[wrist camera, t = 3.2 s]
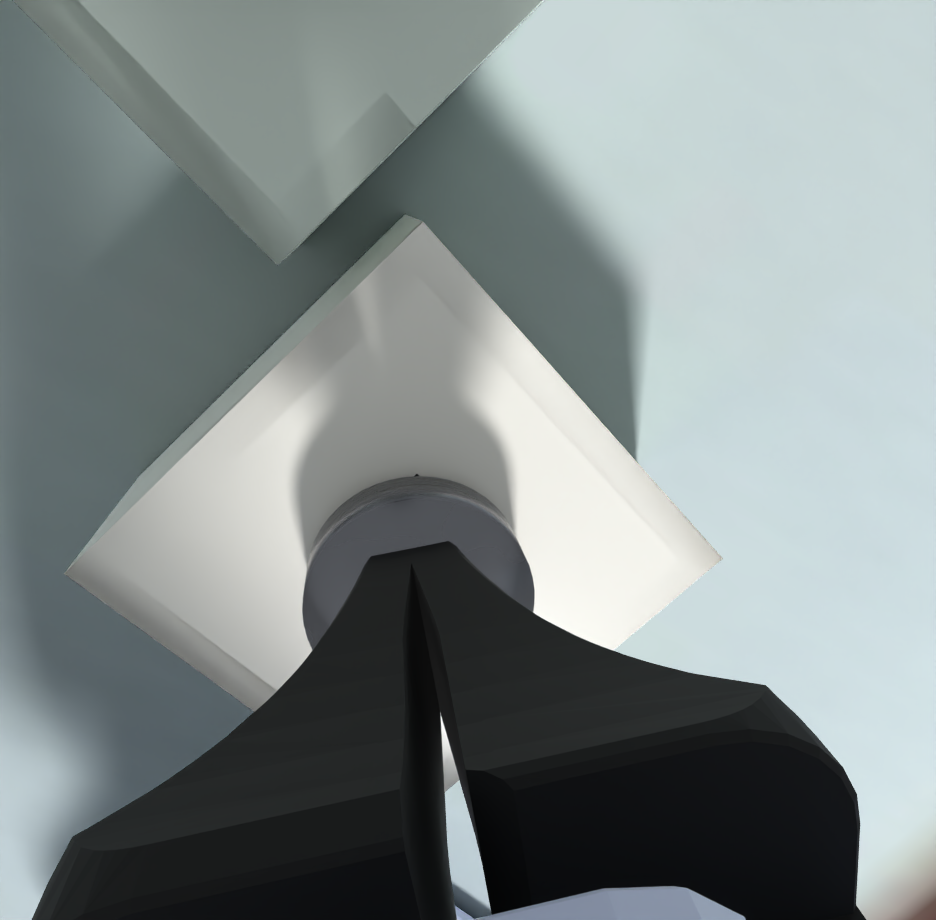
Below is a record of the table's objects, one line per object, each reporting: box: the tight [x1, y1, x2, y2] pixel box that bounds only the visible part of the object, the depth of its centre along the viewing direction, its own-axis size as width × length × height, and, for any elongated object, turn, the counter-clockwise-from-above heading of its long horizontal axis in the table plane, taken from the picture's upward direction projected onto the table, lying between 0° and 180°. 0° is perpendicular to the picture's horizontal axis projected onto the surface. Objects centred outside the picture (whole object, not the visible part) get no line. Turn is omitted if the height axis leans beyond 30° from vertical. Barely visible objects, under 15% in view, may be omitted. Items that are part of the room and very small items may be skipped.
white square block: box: [64, 214, 723, 792], centre depth 15 cm, size 8×8×4 cm
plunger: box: [302, 474, 535, 650], centre depth 14 cm, size 5×5×5 cm
